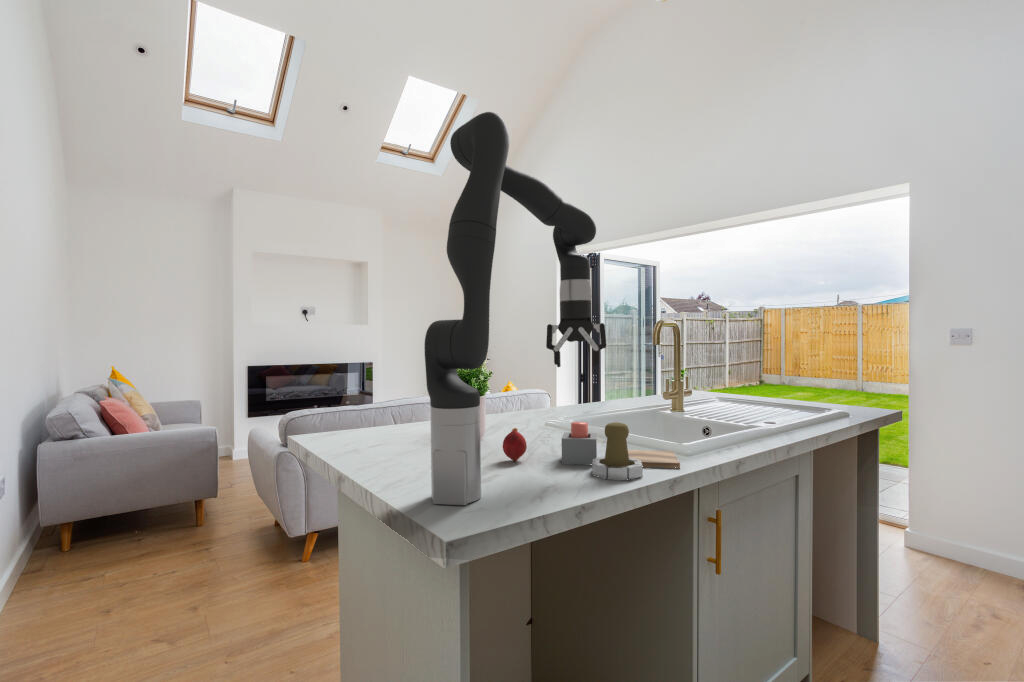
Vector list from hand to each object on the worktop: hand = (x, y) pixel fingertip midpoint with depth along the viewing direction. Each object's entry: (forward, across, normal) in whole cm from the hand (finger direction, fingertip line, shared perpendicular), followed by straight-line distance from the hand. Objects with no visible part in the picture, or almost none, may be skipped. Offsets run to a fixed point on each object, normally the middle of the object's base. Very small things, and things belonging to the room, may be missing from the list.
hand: (576, 366), depth 121 cm
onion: (+23, -15, -3) cm, 27 cm away
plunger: (+20, 0, 0) cm, 20 cm away
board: (+23, +17, +1) cm, 28 cm away
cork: (+23, +9, -11) cm, 27 cm away
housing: (+23, 0, 0) cm, 23 cm away
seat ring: (+22, +9, -11) cm, 27 cm away
